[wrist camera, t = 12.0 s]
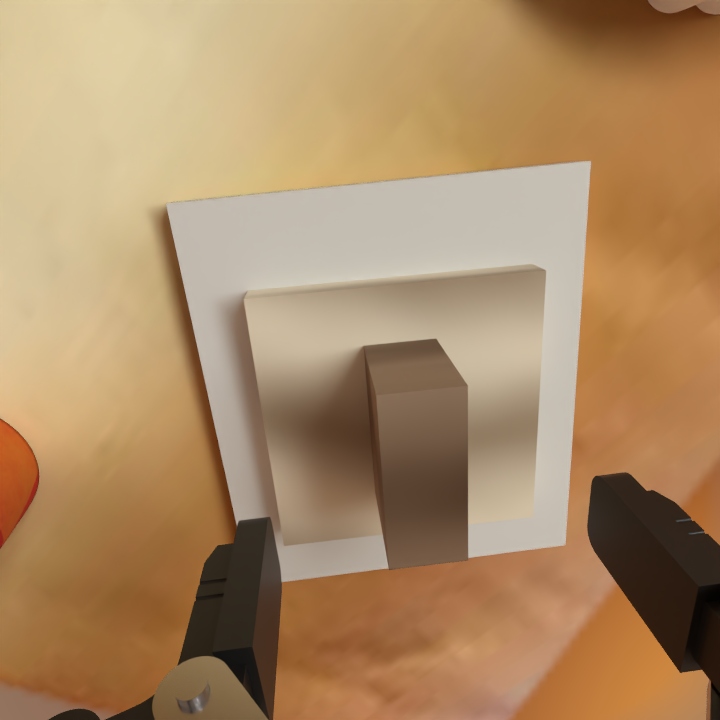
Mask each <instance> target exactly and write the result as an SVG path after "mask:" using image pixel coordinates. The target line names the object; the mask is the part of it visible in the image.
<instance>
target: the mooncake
mask: <svg viewBox="0 0 720 720" xmlns="http://www.w3.org/2000/svg"><path fill="white" fill-rule="evenodd" d="M648 2H649V4H650V5H651V6H652V7H653V8H655V9H656V10H658V11H660V12H663V13H676V12H679V11H682V10H685V9H687V8H690V7H692V6H694V5H696V6H697V7H698V8H699V9H700V10H701V11H703V12H705V13H708V14H713V15H716V14H720V0H648Z"/></svg>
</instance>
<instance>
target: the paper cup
mask: <svg viewBox="0 0 720 720" xmlns="http://www.w3.org/2000/svg"><path fill="white" fill-rule="evenodd" d="M38 484H39V468H38V464H37V460H36V458H35V455H34V453H33V451H32V449H31V448H30V446H29V444H28V443H27V442H26V440H25V439H24V438H23V437H22V436H21V435H20V434H19V433H18V432H17V431H16V430H15V429H14V428H13V427H12V426H10V425H9V424H8V423H6V422H5V421H3V420H2V419H0V548H1V547H2V545H3V544H4V543H5V541H6V540H7V538H8V537H9V535H10V534H11V532H12V531H13V529H14V528H15V527H16V525H17V524H18V522H19V521H20V519H21V518H22V516H23V515H24V513H25V512H26V510H27V508H28V507H29V505H30V504H31V502H32V500H33V498H34V496H35V494H36V491H37V488H38Z"/></svg>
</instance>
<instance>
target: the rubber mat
mask: <svg viewBox="0 0 720 720" xmlns="http://www.w3.org/2000/svg"><path fill="white" fill-rule="evenodd" d="M590 167H591V161H576V162H566V163H556V164H546V165H536V166H526V167H516V168H506V169H496V170H487V171H477V172H467V173H457V174H447V175H437V176H427V177H417V178H407V179H397V180H387V181H377V182H367V183H357V184H348V185H338V186H328V187H318V188H308V189H298V190H288V191H278V192H268V193H258V194H248V195H238V196H228V197H218V198H208V199H199V200H189V201H179V202H171V203H168V204H166V207H167V211H168V216H169V220H170V225H171V229H172V234H173V239H174V243H175V248H176V252H177V257H178V261H179V266H180V270H181V275H182V279H183V284H184V289H185V293H186V298H187V302H188V307H189V311H190V316H191V320H192V325H193V329H194V334H195V338H196V343H197V348H198V352H199V357H200V361H201V366H202V370H203V375H204V379H205V384H206V388H207V393H208V398H209V402H210V407H211V411H212V416H213V420H214V425H215V429H216V434H217V438H218V443H219V448H220V452H221V457H222V461H223V466H224V470H225V475H226V479H227V484H228V488H229V493H230V498H231V502H232V507H233V511H234V516H235V520H236V525H238V522H239V521H240V520H247V519H255V518H263V517H270V518H271V521H272V526H273V531H274V536H275V542H276V547H277V552H278V557H279V563H280V569H281V582H287V581H294V580H302V579H309V578H317V577H325V576H332V575H340V574H348V573H355V572H363V571H371V570H378V569H386V568H389V567H388V562H387V556H386V550H385V545H384V539H383V535H375V536H366V537H358V538H349V539H340V540H332V541H323V542H315V543H306V544H298V545H289V546H284V543H283V537H282V530H281V524H280V518H279V512H278V506H277V500H276V494H275V488H274V482H273V476H272V470H271V463H270V457H269V451H268V445H267V439H266V433H265V427H264V421H263V415H262V409H261V402H260V396H259V390H258V384H257V378H256V372H255V366H254V360H253V354H252V348H251V342H250V335H249V329H248V323H247V317H246V311H245V305H244V297H245V295H246V294H247V292H248V290H259V289H269V288H280V287H290V286H301V285H312V284H322V283H333V282H344V281H354V280H365V279H375V278H386V277H397V276H407V275H418V274H429V273H439V272H450V271H460V270H471V269H482V268H492V267H503V266H514V265H524V264H534V265H536V266H538V267H540V268H542V269H544V270H546V286H545V304H544V323H543V341H542V360H541V378H540V397H539V415H538V434H537V452H536V471H535V489H534V508H533V517H529V518H521V519H512V520H503V521H495V522H486V523H478V524H469V525H468V558H470V557H478V556H485V555H493V554H501V553H508V552H516V551H524V550H531V549H539V548H546V547H554V546H562V545H565V542H566V527H567V512H568V497H569V482H570V467H571V452H572V437H573V422H574V407H575V392H576V377H577V362H578V347H579V332H580V317H581V302H582V287H583V272H584V257H585V242H586V227H587V212H588V197H589V182H590Z"/></svg>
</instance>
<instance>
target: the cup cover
mask: <svg viewBox="0 0 720 720" xmlns="http://www.w3.org/2000/svg"><path fill="white" fill-rule="evenodd" d="M545 286H546V270H544V269H542V268H540V267H538V266H536V265H534V264H524V265H514V266H503V267H492V268H482V269H471V270H460V271H450V272H439V273H429V274H418V275H407V276H397V277H386V278H375V279H365V280H354V281H344V282H333V283H322V284H312V285H301V286H290V287H280V288H269V289H259V290H248V292H247V294H246V295H245V297H244V305H245V311H246V317H247V323H248V329H249V335H250V342H251V348H252V354H253V360H254V366H255V372H256V378H257V384H258V390H259V396H260V402H261V409H262V415H263V421H264V427H265V433H266V439H267V445H268V451H269V457H270V463H271V470H272V476H273V482H274V488H275V494H276V500H277V506H278V512H279V518H280V524H281V530H282V537H283V543H284V546H289V545H298V544H306V543H315V542H323V541H332V540H340V539H349V538H358V537H366V536H375V535H383V539H384V545H385V550H386V556H387V562H388V567H389V570H392V569H400V568H409V567H417V566H425V565H434V564H442V563H450V562H459V561H467V560H468V525H469V524H478V523H486V522H495V521H503V520H512V519H521V518H529V517H533V508H534V489H535V471H536V452H537V434H538V415H539V397H540V378H541V360H542V341H543V323H544V304H545Z"/></svg>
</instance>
